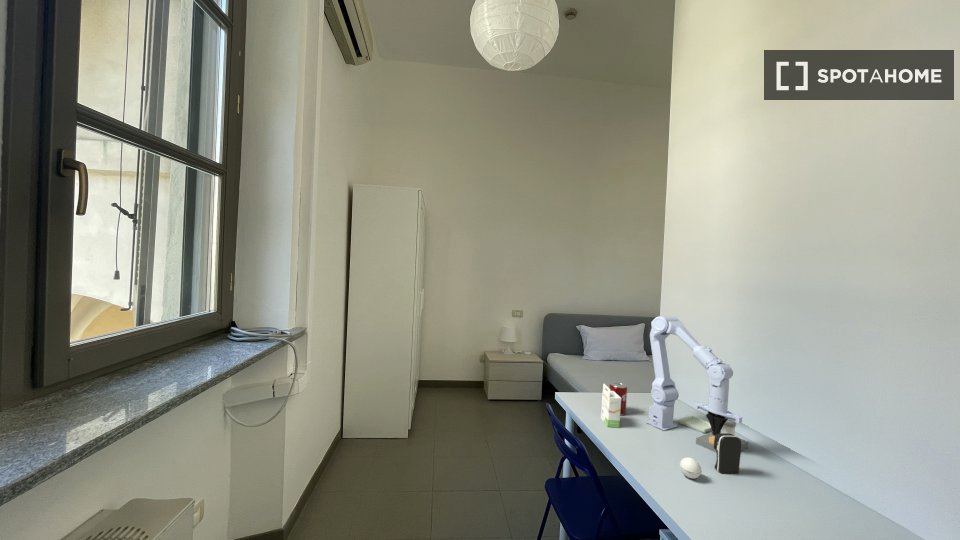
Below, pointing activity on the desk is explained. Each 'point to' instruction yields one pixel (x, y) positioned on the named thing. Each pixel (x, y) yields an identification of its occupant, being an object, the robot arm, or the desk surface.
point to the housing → (705, 443)
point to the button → (711, 439)
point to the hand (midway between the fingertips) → (715, 435)
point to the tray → (696, 424)
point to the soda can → (620, 394)
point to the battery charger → (727, 453)
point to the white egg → (690, 468)
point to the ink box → (610, 408)
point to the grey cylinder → (729, 427)
